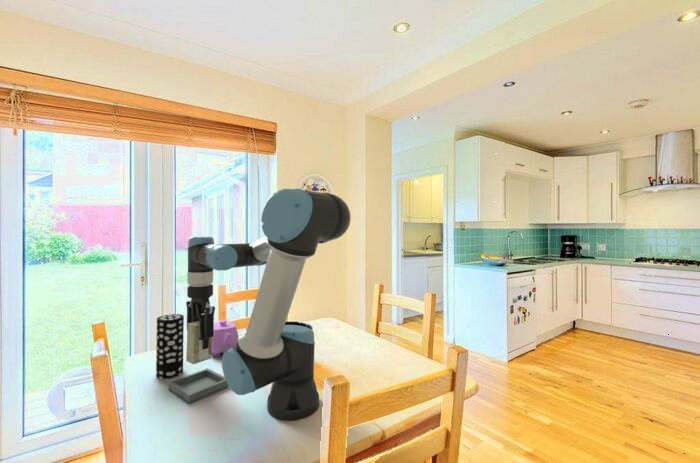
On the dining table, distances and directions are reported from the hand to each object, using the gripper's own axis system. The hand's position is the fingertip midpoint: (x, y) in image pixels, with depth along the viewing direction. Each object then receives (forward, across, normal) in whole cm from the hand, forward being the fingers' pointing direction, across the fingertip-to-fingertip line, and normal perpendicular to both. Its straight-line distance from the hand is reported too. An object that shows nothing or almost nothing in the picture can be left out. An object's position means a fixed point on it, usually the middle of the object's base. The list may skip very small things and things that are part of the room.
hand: (199, 356), depth 103 cm
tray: (+10, 0, 0) cm, 10 cm away
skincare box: (+1, 0, 0) cm, 1 cm away
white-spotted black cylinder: (+11, +18, +1) cm, 21 cm away
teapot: (+11, +22, -22) cm, 33 cm away
